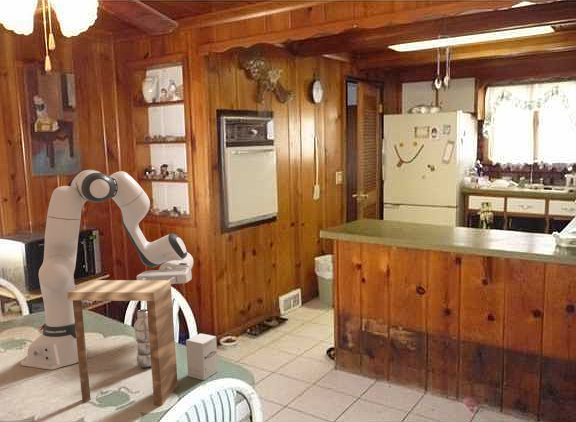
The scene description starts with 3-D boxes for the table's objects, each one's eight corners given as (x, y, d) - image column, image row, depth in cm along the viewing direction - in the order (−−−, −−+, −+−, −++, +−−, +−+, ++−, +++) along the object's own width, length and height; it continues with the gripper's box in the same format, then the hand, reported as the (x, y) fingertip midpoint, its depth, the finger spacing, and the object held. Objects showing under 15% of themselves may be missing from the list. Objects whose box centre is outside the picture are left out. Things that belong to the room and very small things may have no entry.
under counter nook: (77, 401, 155) (66, 292, 151) (99, 382, 168) (89, 280, 163) (162, 405, 151) (153, 292, 147) (177, 384, 164) (170, 280, 160)
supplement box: (204, 381, 166) (202, 343, 164) (187, 376, 170) (184, 339, 168) (218, 371, 172) (216, 336, 170) (202, 367, 176) (200, 332, 174)
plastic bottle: (151, 370, 175) (147, 314, 173) (133, 369, 177) (129, 313, 174) (160, 362, 182) (156, 308, 179) (142, 361, 183) (138, 307, 180)
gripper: (145, 265, 201) (127, 276, 188) (193, 263, 197) (179, 274, 184) (147, 280, 203) (130, 292, 189) (195, 279, 198) (181, 291, 185)
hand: (154, 283), depth 187 cm, fingers open, 8 cm apart
